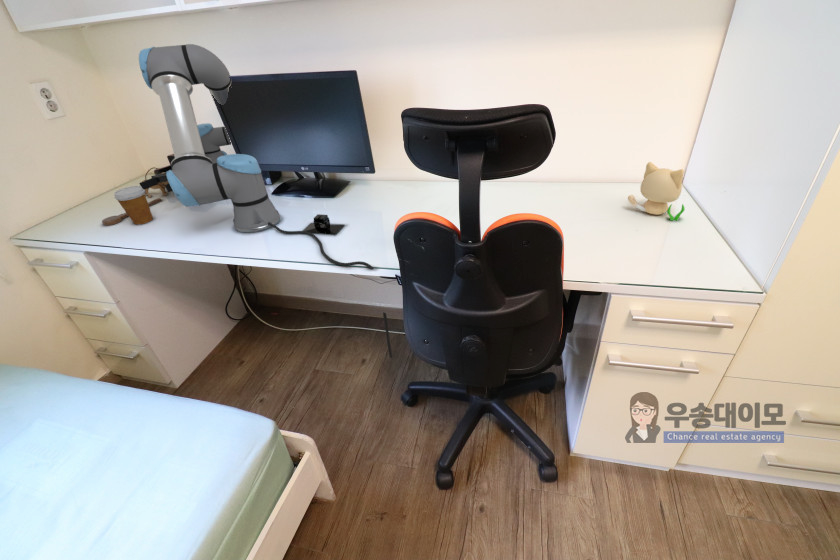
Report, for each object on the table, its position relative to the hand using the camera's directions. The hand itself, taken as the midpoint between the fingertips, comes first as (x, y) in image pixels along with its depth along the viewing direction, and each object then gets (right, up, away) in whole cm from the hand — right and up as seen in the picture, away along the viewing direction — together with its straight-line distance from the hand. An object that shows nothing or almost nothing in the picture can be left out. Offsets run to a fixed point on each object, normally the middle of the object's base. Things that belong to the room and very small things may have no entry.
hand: (153, 187), depth 148 cm
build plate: (+69, -18, -19) cm, 74 cm away
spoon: (-12, -9, +6) cm, 16 cm away
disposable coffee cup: (-3, -13, -2) cm, 13 cm away
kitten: (+174, -14, -26) cm, 176 cm away
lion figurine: (-12, +2, +22) cm, 25 cm away
